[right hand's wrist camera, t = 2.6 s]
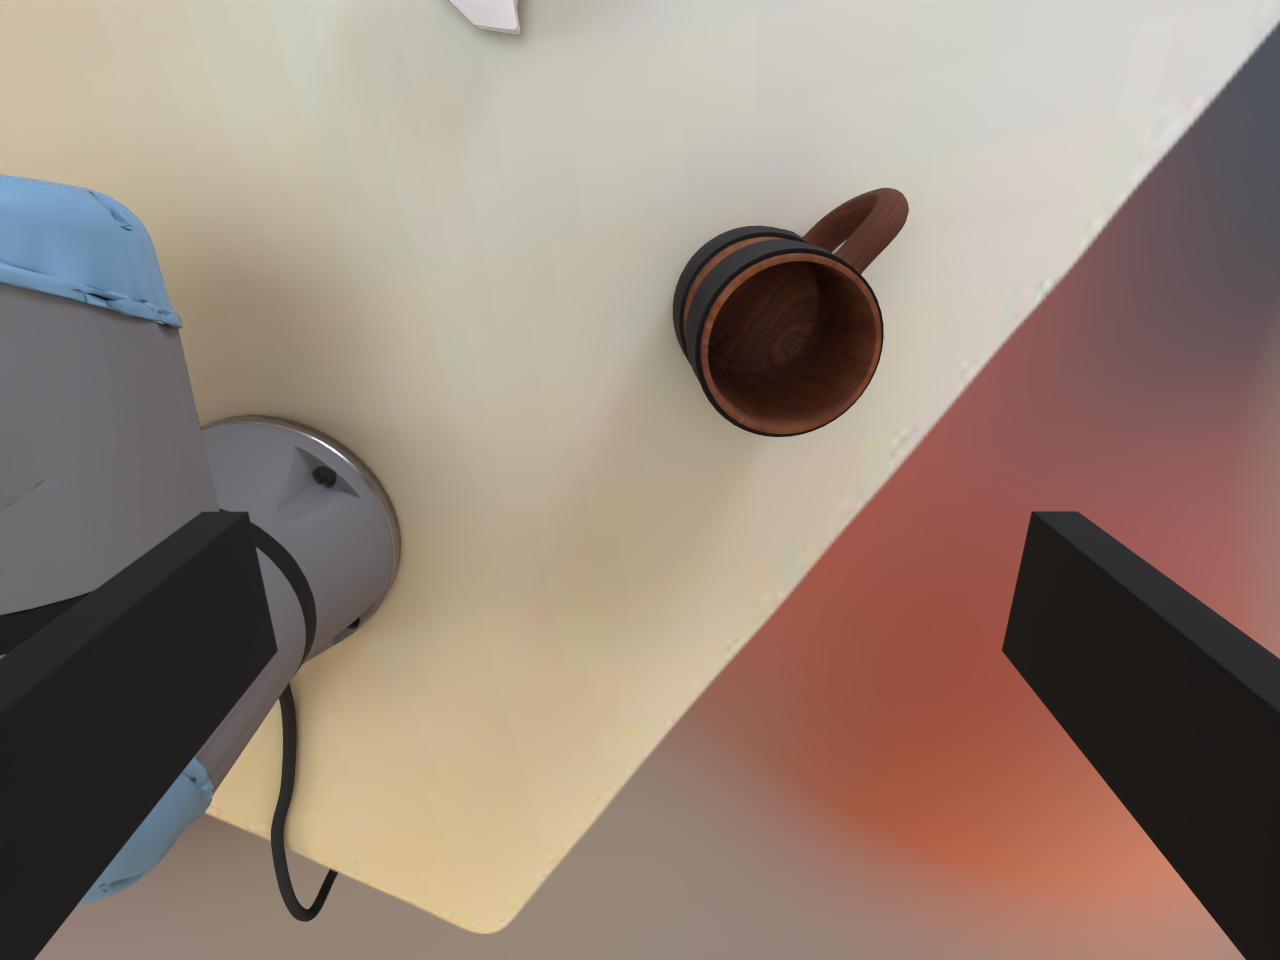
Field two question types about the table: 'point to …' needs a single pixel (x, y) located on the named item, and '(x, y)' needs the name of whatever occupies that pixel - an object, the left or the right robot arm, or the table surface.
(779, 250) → the mug
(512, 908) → the table surface
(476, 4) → the spray bottle
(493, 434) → the table surface
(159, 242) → the table surface
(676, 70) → the table surface
